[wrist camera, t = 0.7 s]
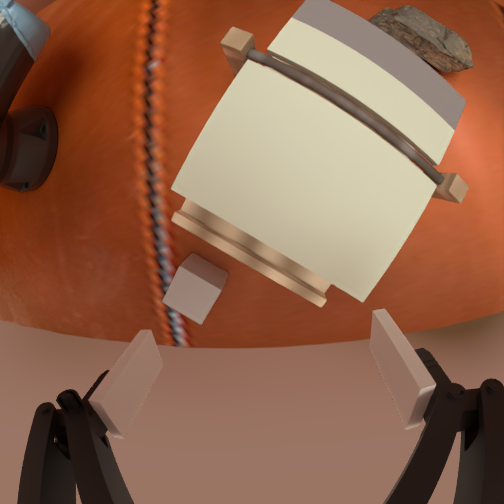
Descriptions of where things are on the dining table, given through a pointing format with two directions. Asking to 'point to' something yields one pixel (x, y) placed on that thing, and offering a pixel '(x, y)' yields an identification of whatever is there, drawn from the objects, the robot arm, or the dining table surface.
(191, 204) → the stand
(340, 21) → the flap
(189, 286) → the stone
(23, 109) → the robot arm
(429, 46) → the rock
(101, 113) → the dining table surface
